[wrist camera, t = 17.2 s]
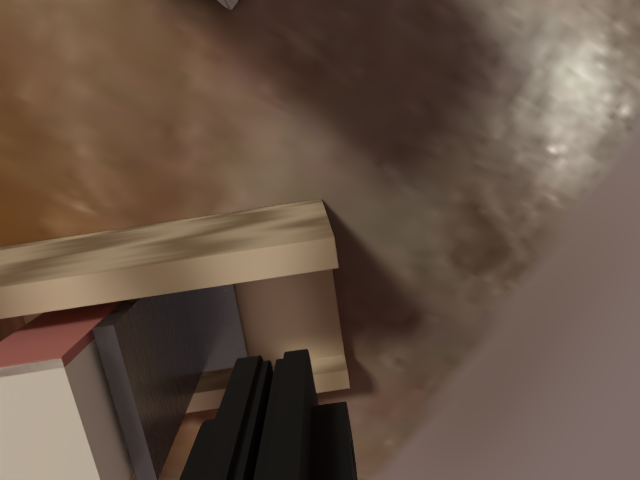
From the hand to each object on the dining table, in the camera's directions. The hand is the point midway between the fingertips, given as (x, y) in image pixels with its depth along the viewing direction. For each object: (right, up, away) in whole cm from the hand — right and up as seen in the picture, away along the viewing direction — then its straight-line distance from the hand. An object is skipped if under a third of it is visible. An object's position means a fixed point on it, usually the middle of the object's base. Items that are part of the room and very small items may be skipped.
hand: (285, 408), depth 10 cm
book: (-10, -1, +16) cm, 18 cm away
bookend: (-6, 0, +15) cm, 16 cm away
